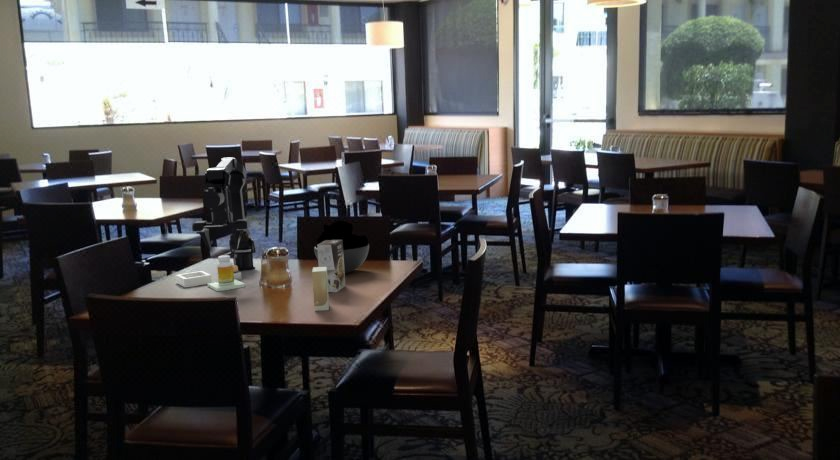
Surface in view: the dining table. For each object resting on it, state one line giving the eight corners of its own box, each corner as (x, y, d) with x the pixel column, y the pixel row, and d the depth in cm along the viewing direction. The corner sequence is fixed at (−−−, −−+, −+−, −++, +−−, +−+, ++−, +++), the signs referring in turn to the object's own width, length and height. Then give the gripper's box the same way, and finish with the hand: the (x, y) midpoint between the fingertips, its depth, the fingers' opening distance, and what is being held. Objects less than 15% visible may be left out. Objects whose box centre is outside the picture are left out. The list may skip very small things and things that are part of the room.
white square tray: (203, 278, 278) (202, 270, 278) (211, 283, 271) (211, 274, 270) (176, 282, 273) (176, 274, 273) (184, 287, 265) (184, 279, 265)
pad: (235, 281, 271) (235, 279, 271) (245, 286, 263) (245, 283, 263) (207, 286, 266) (207, 283, 265) (217, 291, 257) (217, 288, 257)
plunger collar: (235, 276, 280) (234, 269, 280) (241, 279, 275) (240, 272, 275) (217, 279, 277) (217, 272, 276) (223, 282, 271) (223, 275, 271)
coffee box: (338, 292, 248) (335, 244, 246) (319, 292, 250) (316, 244, 247) (346, 286, 257) (343, 239, 255) (328, 286, 258) (325, 239, 256)
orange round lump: (234, 274, 280) (233, 264, 280) (241, 277, 275) (240, 266, 274) (217, 277, 277) (216, 266, 276) (223, 280, 271) (222, 269, 271)
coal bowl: (363, 264, 291) (360, 216, 288) (376, 274, 273) (373, 223, 270) (311, 270, 285) (308, 220, 282) (321, 281, 266) (318, 228, 263)
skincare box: (315, 306, 232) (312, 266, 230) (329, 305, 233) (327, 266, 231) (314, 311, 226) (311, 271, 224) (328, 310, 226) (326, 270, 224)
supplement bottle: (235, 284, 263) (233, 256, 261) (220, 286, 260) (217, 258, 259) (232, 281, 267) (230, 254, 266) (217, 283, 265) (214, 256, 264)
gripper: (251, 200, 268) (255, 244, 270) (198, 203, 267) (202, 246, 270) (245, 204, 257) (248, 250, 259) (189, 207, 256) (193, 252, 259)
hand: (223, 249), depth 262 cm, fingers open, 9 cm apart
